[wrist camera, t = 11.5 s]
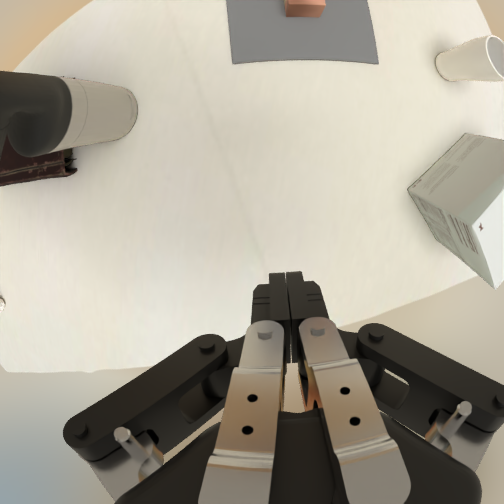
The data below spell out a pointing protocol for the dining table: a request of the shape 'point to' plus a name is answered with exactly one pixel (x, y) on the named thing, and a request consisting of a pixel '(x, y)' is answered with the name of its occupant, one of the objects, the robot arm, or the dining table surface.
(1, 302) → the spread jar
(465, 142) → the supplement box
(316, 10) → the oak block
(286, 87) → the dining table surface
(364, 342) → the robot arm
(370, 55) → the rubber mat
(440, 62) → the drinking glass
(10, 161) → the diary
